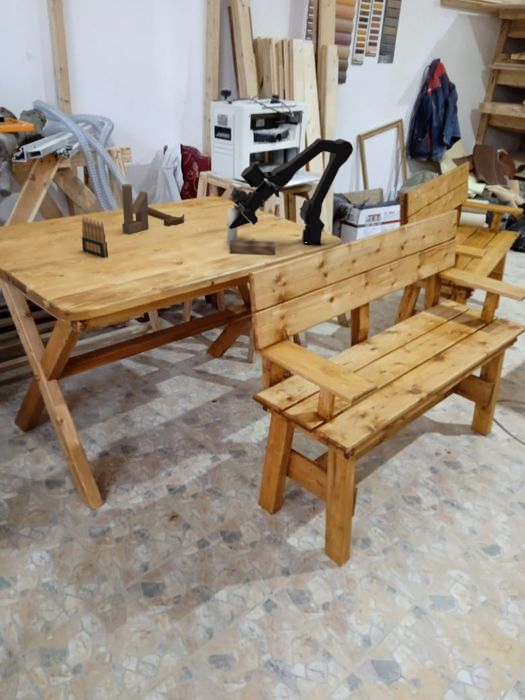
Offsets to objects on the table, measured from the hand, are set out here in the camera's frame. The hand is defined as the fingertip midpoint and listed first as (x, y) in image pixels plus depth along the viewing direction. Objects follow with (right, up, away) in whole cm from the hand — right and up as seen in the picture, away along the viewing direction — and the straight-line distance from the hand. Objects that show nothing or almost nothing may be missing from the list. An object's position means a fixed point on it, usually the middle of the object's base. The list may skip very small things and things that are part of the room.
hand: (228, 226), depth 206 cm
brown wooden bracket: (-37, +1, +12) cm, 39 cm away
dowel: (+1, -6, +3) cm, 7 cm away
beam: (+9, -10, -3) cm, 13 cm away
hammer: (-32, +11, +32) cm, 47 cm away
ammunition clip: (-45, -13, -15) cm, 49 cm away
